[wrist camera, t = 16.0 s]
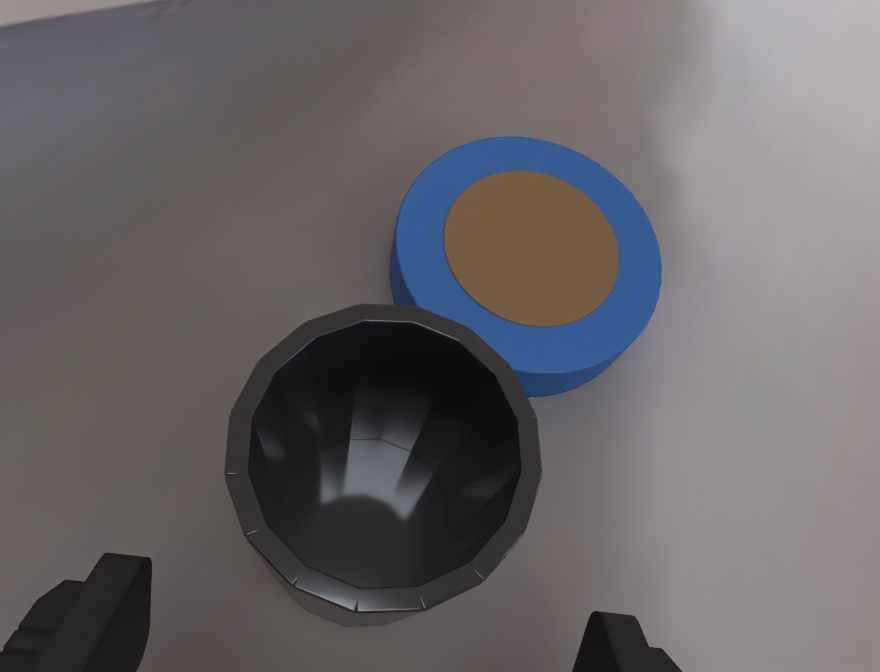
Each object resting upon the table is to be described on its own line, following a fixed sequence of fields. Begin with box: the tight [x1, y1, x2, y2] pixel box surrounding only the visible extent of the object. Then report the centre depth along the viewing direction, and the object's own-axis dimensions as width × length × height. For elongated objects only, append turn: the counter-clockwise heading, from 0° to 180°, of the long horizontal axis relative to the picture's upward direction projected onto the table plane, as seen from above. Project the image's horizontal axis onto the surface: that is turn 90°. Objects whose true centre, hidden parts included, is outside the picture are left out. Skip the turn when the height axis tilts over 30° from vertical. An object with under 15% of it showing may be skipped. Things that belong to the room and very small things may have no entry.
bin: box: [224, 304, 542, 627], centre depth 18 cm, size 6×6×10 cm
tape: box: [390, 137, 662, 397], centre depth 27 cm, size 10×10×3 cm
